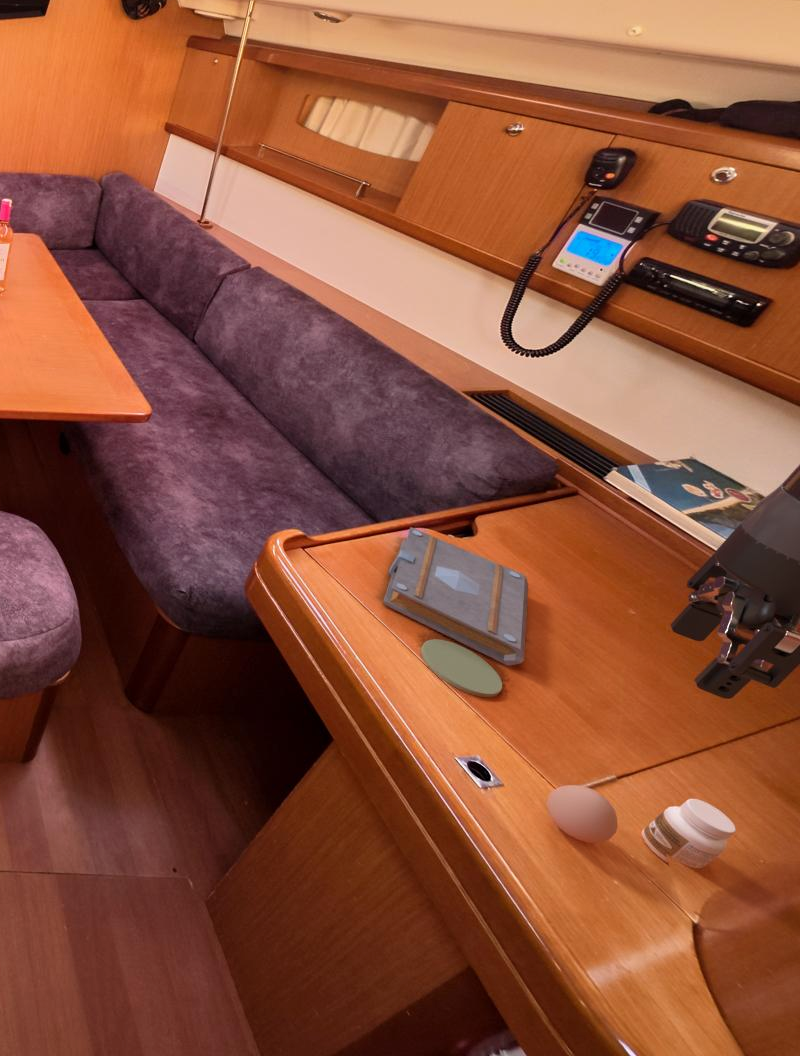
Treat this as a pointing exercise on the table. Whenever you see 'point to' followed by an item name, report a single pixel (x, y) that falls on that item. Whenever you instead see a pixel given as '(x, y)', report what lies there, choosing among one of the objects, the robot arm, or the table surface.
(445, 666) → the coaster
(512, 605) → the book
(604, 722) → the table surface
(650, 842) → the pill bottle
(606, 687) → the table surface
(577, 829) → the egg
